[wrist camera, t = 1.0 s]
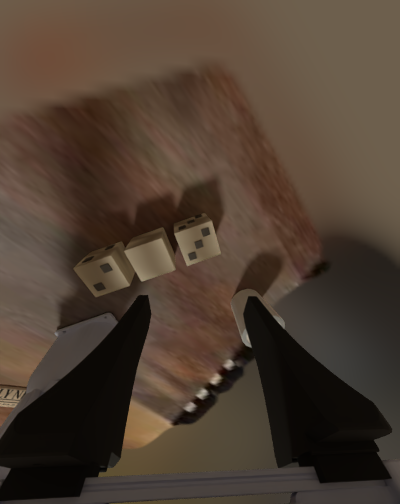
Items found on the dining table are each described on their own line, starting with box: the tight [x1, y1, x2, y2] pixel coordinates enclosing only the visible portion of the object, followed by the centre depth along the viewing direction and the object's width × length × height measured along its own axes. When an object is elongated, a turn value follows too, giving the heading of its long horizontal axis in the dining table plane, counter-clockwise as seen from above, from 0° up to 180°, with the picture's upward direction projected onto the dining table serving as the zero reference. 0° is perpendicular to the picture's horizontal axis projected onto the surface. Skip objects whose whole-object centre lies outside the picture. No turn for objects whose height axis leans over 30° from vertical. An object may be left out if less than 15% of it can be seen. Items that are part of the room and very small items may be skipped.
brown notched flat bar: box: [0, 385, 27, 407], centre depth 31 cm, size 24×7×2 cm, turn 59°
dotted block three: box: [174, 213, 221, 266], centre depth 21 cm, size 4×5×5 cm
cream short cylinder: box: [231, 289, 285, 347], centre depth 28 cm, size 7×7×7 cm
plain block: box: [124, 227, 176, 282], centre depth 21 cm, size 4×4×4 cm
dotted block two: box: [73, 241, 135, 297], centre depth 21 cm, size 4×5×5 cm
